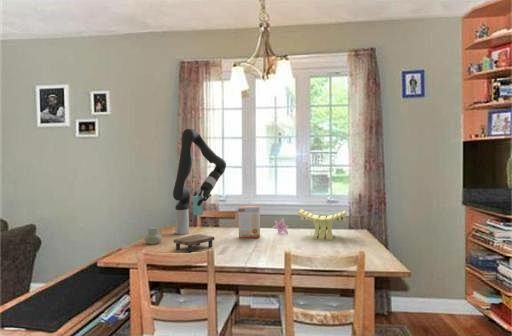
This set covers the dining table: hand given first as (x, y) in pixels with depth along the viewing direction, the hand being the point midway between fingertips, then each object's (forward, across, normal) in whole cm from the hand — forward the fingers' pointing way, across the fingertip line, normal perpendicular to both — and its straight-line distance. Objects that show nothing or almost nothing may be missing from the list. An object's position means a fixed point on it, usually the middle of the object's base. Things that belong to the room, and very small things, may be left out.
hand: (195, 204), depth 259 cm
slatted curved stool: (-26, +57, +61) cm, 88 cm away
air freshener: (+30, -20, +4) cm, 36 cm away
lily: (-22, +27, +57) cm, 66 cm away
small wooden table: (+25, +11, +9) cm, 29 cm away
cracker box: (-5, +17, +40) cm, 44 cm away
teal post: (+3, 0, +6) cm, 7 cm away
